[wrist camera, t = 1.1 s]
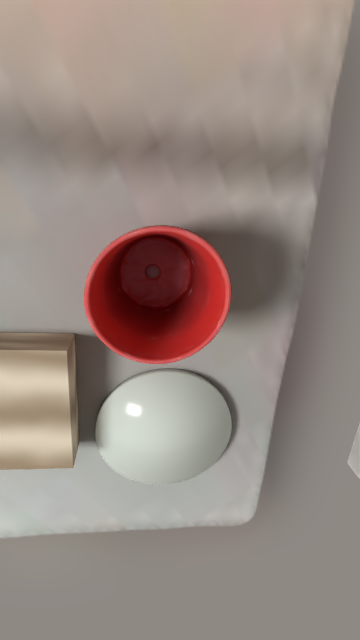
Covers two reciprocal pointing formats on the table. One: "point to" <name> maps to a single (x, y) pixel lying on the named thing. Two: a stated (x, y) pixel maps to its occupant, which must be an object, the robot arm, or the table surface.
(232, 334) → the table surface
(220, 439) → the pale grey round plate
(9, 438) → the stand
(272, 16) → the table surface
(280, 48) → the table surface
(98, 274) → the flower pot
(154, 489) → the table surface
